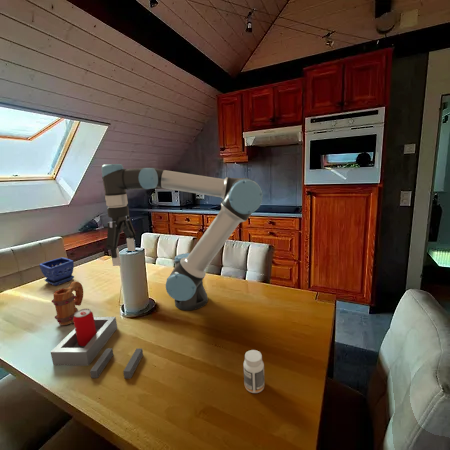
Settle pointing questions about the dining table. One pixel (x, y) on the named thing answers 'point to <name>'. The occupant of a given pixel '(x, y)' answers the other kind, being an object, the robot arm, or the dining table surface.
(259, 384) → the pill bottle
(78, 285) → the mug
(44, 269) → the flower pot
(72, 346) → the tray
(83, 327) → the beverage can
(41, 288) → the dining table surface
